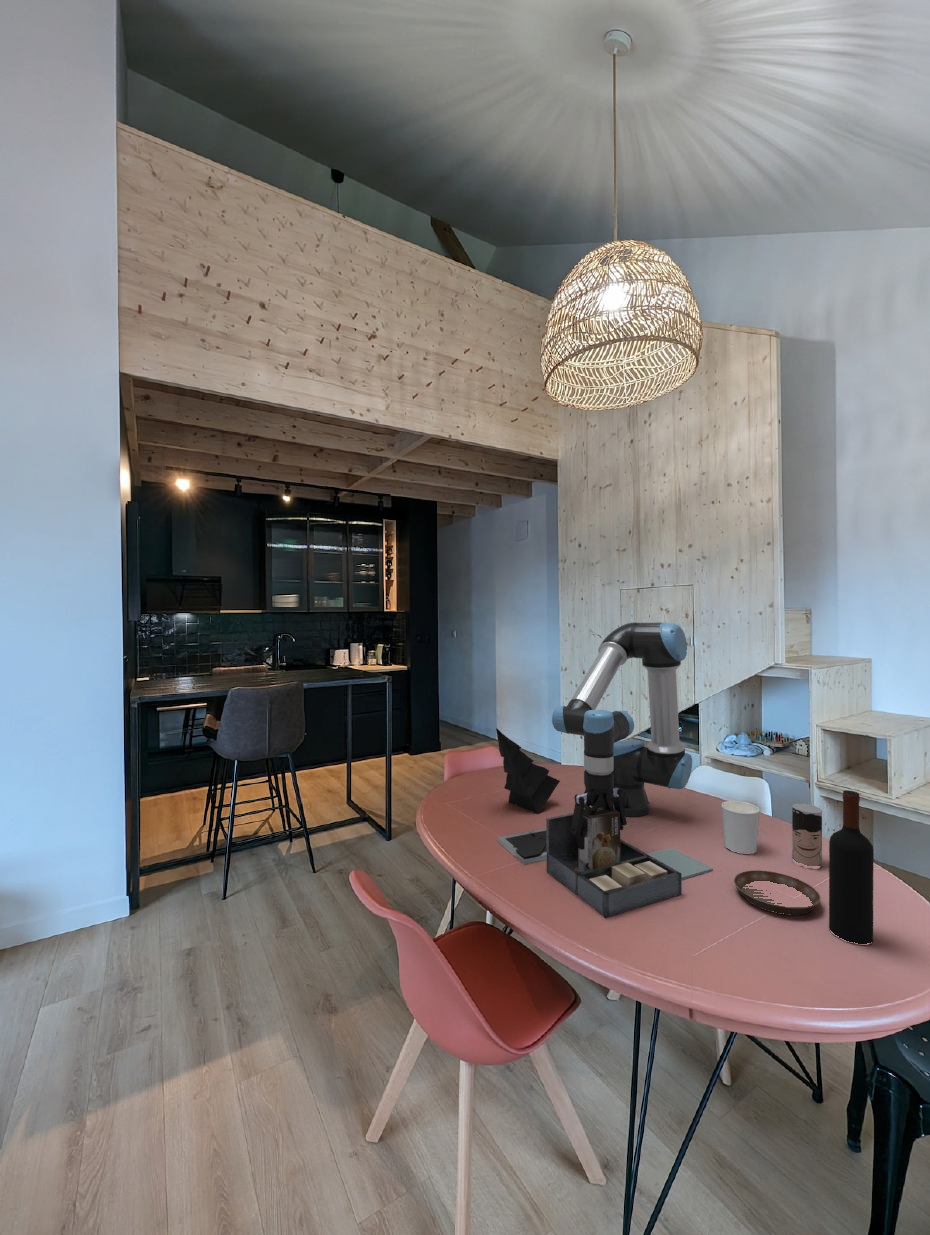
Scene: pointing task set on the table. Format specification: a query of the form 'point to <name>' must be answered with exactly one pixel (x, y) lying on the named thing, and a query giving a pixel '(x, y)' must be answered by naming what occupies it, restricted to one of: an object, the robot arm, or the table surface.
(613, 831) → the coffee box
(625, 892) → the open divided box
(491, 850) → the table surface
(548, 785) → the decorative tree
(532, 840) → the picture frame
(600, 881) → the offcut
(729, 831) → the candle holder
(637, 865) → the offcut
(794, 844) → the cup
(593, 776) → the robot arm
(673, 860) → the pad
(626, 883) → the block
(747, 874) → the plant saucer
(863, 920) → the wine bottle
